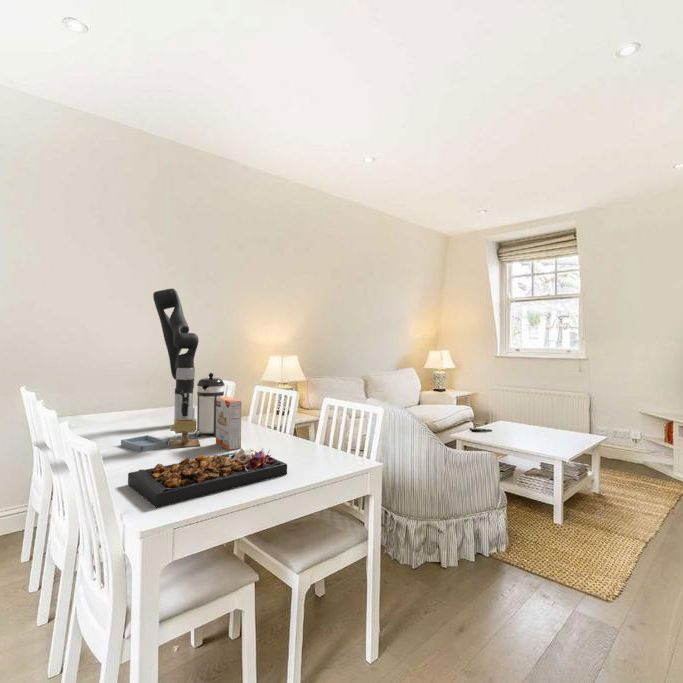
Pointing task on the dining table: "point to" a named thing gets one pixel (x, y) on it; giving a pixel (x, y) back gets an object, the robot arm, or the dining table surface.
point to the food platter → (204, 476)
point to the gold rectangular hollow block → (184, 425)
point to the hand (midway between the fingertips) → (184, 414)
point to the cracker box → (228, 423)
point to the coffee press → (208, 403)
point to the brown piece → (184, 441)
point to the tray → (144, 443)
